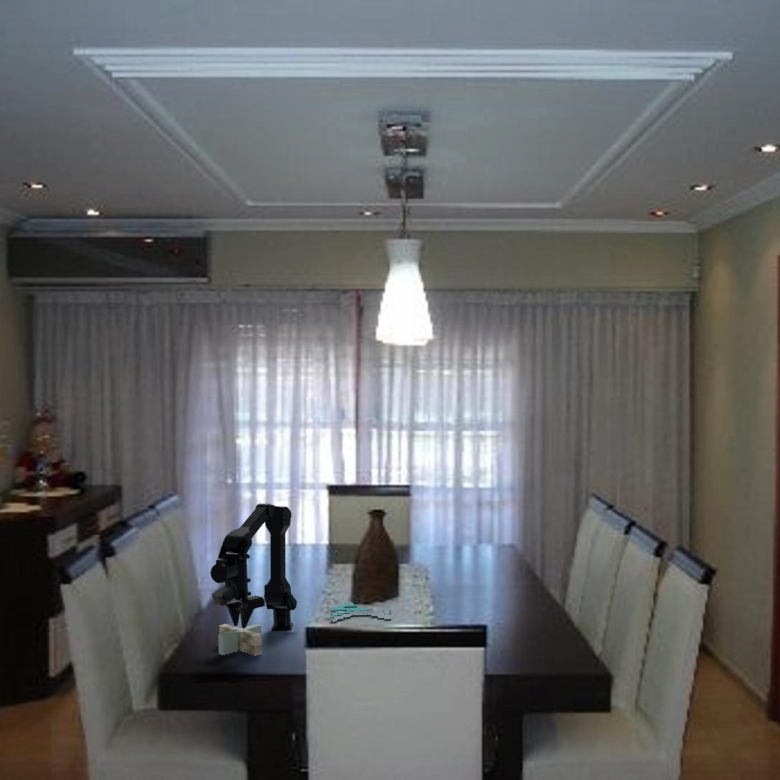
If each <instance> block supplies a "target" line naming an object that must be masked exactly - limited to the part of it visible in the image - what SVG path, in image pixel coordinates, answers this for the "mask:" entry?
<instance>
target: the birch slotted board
mask: <svg viewBox="0 0 780 780" xmlns="http://www.w3.org/2000/svg"><path fill="white" fill-rule="evenodd" d="M239 628H240V627H238V626H234V625H231V624H229V623H224V624H221V625H220V624H219V629H218V630H219V634H220V633H224V632H228V631H232V630H236V629H239ZM262 643H263V642H262V633H261V634H259V633H255V632H252V631H249V630H244V631H240V641H238V650H239V651H238V652H241V651H242V652H241V653H244V652H245V653H244V654H247V653H248V654H247V655H250V654H251V655H250V656H253V655H254V657H258V656H261V655H263V648H262V647H263V645H262ZM260 654H261V655H260ZM257 655H258V656H257Z"/></svg>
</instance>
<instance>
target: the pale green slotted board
mask: <svg viewBox="0 0 780 780" xmlns="http://www.w3.org/2000/svg"><path fill="white" fill-rule="evenodd" d="M238 628H239V629H236V630H232V631H228V632H224V633H220V632H219V633H218V634H217V635H218V637H217V638H218V654H219V655H221V656H223V655H224V656H227V655H231V654H233V652H235V653H238V652H239V651H238V641H240V631H244V630H249V631H252V632H255V633H259V634H261V635H262V625H261V624H258V623H255V624H250V625H247V626H246V628H244V629H243V628H242V627H238ZM237 651H238V652H237ZM230 653H231V654H230ZM226 654H227V655H226Z"/></svg>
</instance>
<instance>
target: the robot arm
mask: <svg viewBox="0 0 780 780" xmlns="http://www.w3.org/2000/svg"><path fill="white" fill-rule="evenodd" d="M292 516H293V515H292V511H291V509H290V508H289V507H288V506H283V505H282V506H281V505H273V504H271V503H258V504H256V506H255V508H254V510H253V511H252V512H251V514H250V515H249V516H248V517H247V518H246V519H245V521H244V522H243V523H242V524H241V526H239V528H236V529H234V530H231V531H230V532H229V533H228V534H227V535H225V536H224V539H223V542H222V544H221V546H220V550H219V552H218V556H217V559H216V560H215V564H214V565H213V566H212V567H211V570H210V577H211V579H212V581H213V582H215V583H217V584H222V583H224V586H221V587H220V588H219V589H217V590H215V591H214V592H212V593H211V597H212V600H213V602H214V604H215V605H219V606H220V607H221V606H223V607H224V608H226V610H227V611H228V614H229V616H230V619H231V622H232V624H233V625H232V626H235V627H238V626H239V625H238V624H239V620H240V623H241V628H243V629H244V628H246V627H247V626H248V623H249V621H250V618H251V617H252V615H253V613H254V610H255V609H259V608H263V607H266V610H272V618H273V619H272V620H273V624H272V626H271V628H270V629H272V631H279V630H280V631H281V630H283V631H284V630H286V631H287V630H292V628H293V626H294V622H292V617H291V615H292V612H291V611H294V610H296V608H297V604H298V601H297V598H295V597H294V594H292V589H291V587H292V586H291V585H290V582H289V580H287V577H286V575H287V574H286V568H287V567H286V565H287V564H286V563H287V562H286V561H287V560H286V559H287V558H286V547H287V546H286V533H287V531H288V530H289V528H290V527H291V522H292V520H291V519H292ZM264 524H265V527H266V529H267V531H268V533H269V535H270V536H269V539H270V540H269V542H270V543H269V546H270V547H269V549H270V550H269V551H270V552H269V553H270V554H269V556H270V559H269V560H270V561H269V562H270V564H269V566H270V568H269V569H270V570H269V572H270V577H269V581H267V583H266V584H265V585H264V587H263V589H264V591H263V592H264V595H263V596H259V595H256V594H255V595H252V591H249V583H251V581H252V580H251V578H249V577H248V576H249V575H248V559H251V555H250V554H248V552H249V551H250V549H251V548H252V546H253V538H254V536H255V535H256V534H257V532H258V531H259V530H260V528H261V527H262V526H264Z"/></svg>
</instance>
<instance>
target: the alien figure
mask: <svg viewBox="0 0 780 780" xmlns="http://www.w3.org/2000/svg"><path fill="white" fill-rule="evenodd" d="M385 608H391V607H390V605H389V607H385ZM347 610H350V611H347ZM365 610H366V611H368V610H367V609H366V608H365V607H364V608H363V607H361V608H360V606H356V605H354V604H353V603H352V602H351V601H350V602H344V603H343V604H338V605H337V606H331V607H330V613H331V612H334V611H344V613H337V615H331V614H330V615H329V619H330V618H334V617H337V616H342V615H344V614H350V612H354V611H365ZM369 610H370V609H369ZM370 611H371V610H370ZM371 612H372V611H371ZM383 612H384V611H383ZM387 614H388V615H391V612H390V613H387ZM384 615H386V613H384Z"/></svg>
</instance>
